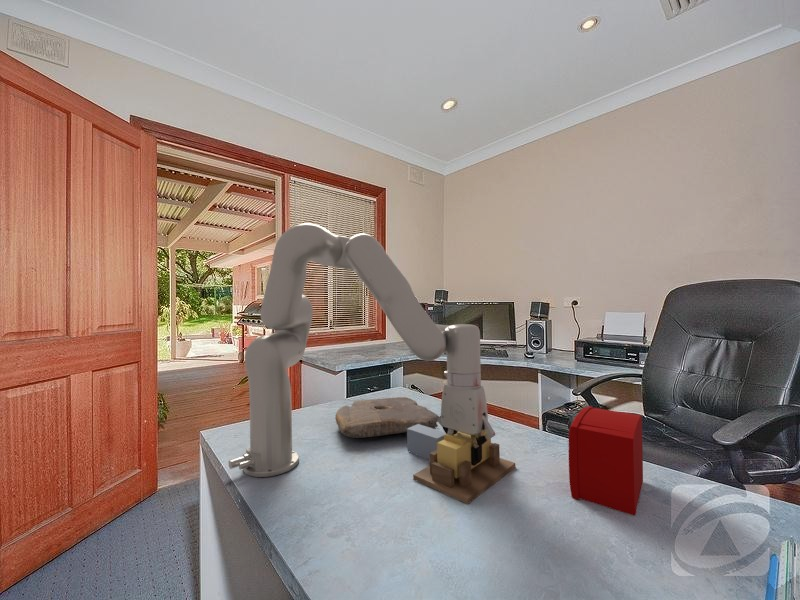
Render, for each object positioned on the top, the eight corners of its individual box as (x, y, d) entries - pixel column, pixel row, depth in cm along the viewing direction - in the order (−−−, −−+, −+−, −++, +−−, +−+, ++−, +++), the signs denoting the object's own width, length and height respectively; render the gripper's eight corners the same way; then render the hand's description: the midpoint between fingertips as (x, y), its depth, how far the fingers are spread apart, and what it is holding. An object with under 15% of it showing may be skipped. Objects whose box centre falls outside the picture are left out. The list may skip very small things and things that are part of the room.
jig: (467, 504, 66) (467, 475, 66) (413, 479, 76) (412, 454, 76) (515, 467, 81) (515, 443, 81) (464, 450, 91) (464, 429, 91)
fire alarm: (587, 466, 81) (585, 401, 81) (643, 480, 74) (641, 410, 74) (569, 497, 68) (567, 421, 68) (634, 518, 61) (633, 433, 61)
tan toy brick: (456, 478, 72) (456, 444, 72) (437, 470, 75) (437, 438, 75) (491, 456, 82) (490, 426, 82) (472, 450, 85) (472, 421, 85)
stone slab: (445, 436, 101) (444, 414, 101) (345, 452, 91) (345, 428, 91) (407, 407, 130) (406, 390, 130) (328, 416, 120) (328, 398, 120)
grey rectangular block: (437, 463, 84) (437, 438, 84) (407, 451, 91) (406, 428, 91) (448, 457, 87) (448, 433, 87) (418, 446, 94) (418, 423, 94)
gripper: (424, 376, 82) (425, 453, 82) (489, 388, 70) (490, 478, 70) (443, 371, 87) (445, 444, 87) (506, 381, 75) (508, 465, 75)
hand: (465, 458), depth 79 cm, fingers closed on tan toy brick, 5 cm apart
